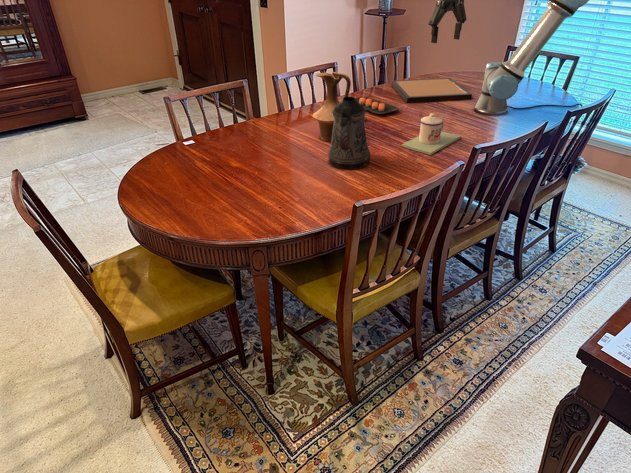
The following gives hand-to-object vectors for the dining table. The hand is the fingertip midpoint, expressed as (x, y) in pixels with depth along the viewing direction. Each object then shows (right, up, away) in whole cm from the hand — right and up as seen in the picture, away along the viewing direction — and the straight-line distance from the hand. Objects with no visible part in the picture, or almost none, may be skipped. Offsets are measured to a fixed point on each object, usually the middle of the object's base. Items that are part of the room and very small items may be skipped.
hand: (445, 41), depth 192 cm
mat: (-8, -46, -6) cm, 47 cm away
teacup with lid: (-8, -46, -7) cm, 47 cm away
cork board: (+8, -4, +56) cm, 56 cm away
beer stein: (-44, -58, -21) cm, 76 cm away
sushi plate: (-34, -22, +31) cm, 52 cm away
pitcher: (-50, -43, +2) cm, 66 cm away
